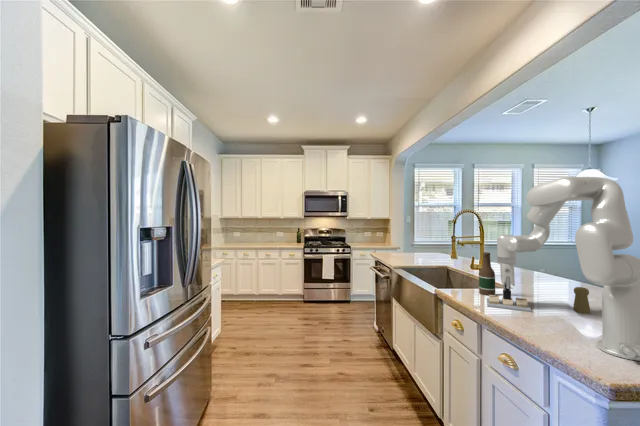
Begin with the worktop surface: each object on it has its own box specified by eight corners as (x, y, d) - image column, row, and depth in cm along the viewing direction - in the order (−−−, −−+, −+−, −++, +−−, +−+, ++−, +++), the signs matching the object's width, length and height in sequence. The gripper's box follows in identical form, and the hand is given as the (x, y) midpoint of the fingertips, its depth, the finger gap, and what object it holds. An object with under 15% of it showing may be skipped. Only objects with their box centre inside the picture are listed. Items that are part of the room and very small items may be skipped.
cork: (594, 314, 126) (593, 289, 126) (578, 313, 128) (578, 289, 128) (584, 309, 132) (584, 286, 132) (569, 309, 133) (569, 285, 134)
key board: (531, 315, 126) (531, 310, 126) (487, 309, 135) (487, 305, 135) (527, 306, 138) (527, 302, 138) (486, 301, 146) (486, 298, 146)
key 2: (513, 308, 133) (512, 300, 133) (502, 307, 135) (502, 299, 135) (512, 305, 137) (512, 298, 137) (502, 304, 139) (502, 297, 139)
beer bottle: (476, 295, 158) (475, 252, 158) (485, 293, 161) (484, 251, 161) (489, 299, 151) (488, 253, 151) (498, 297, 154) (498, 252, 154)
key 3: (499, 305, 136) (499, 297, 136) (489, 304, 138) (489, 296, 138) (498, 303, 140) (498, 295, 140) (489, 302, 142) (489, 294, 142)
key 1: (527, 308, 131) (527, 300, 131) (516, 307, 133) (516, 299, 133) (526, 306, 134) (526, 298, 134) (515, 305, 136) (515, 297, 136)
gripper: (517, 263, 128) (518, 304, 128) (514, 258, 141) (514, 295, 141) (498, 262, 132) (498, 302, 132) (496, 257, 145) (497, 293, 145)
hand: (507, 298), depth 136 cm, fingers closed
